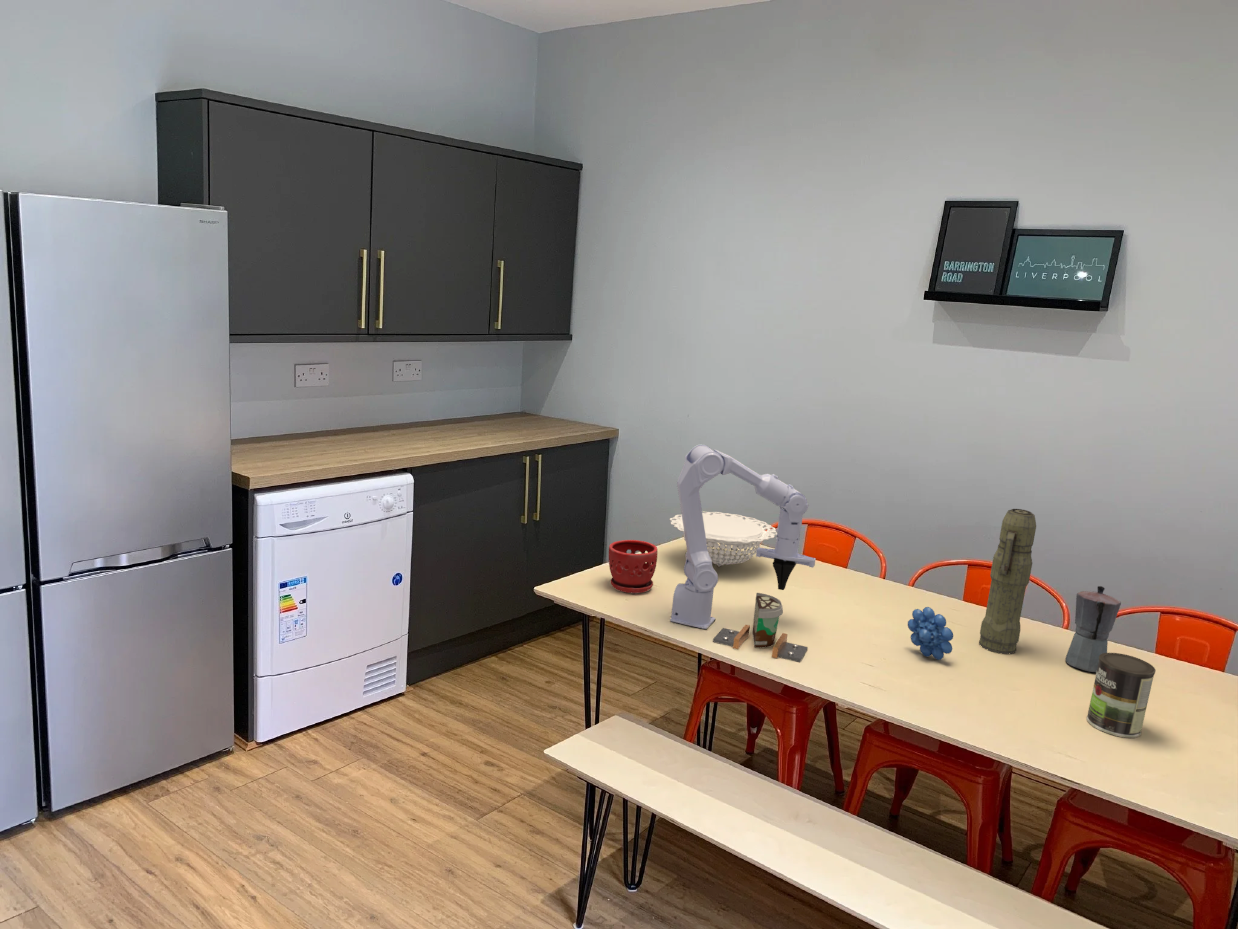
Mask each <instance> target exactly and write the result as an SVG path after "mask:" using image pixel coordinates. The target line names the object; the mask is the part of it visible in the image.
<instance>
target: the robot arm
mask: <svg viewBox="0 0 1238 929" xmlns="http://www.w3.org/2000/svg"><path fill="white" fill-rule="evenodd" d="M730 474H732V475H734V476H735V477H737V478H739V479H741V480H742V481H744V482H746V483H748V484H750V485H752V486H754V487H753V488H754V490H755V494H757V495H758V496H760V497H761V498H763V499H765V500H767V501H769V502H770V503H772V504H774V505H775V506H777V507H779V514H778V515H779V516H778V524H777V529H776V530H777V531H776V532H777V535H776V537H775V547H774V548H765V547H761V546H760V547H759V548H758V549H757V552H756V554H755V557H756V558H757V557H758V558H761V557H762V558H768V559H771V560H773V562H772V567H773V570H774V572H775V575H776V580H777V581H776V582H777V589H778V590H780V591H784V590H785V589H786V586H787V583H788V580H789V578H790V575H791V573H792V572H793V571H794V569H795V567H796V566H797V565H802V566H807V567H809V568H812V569H813V568H814V567H815V566H816V561H817V560H816V558H815V557H811V556H807V555H805V554H801V553H799V547H800V540H801V533H802V532H801V531H802V524H803V515H804V514H805V513H806V512H808V509H809V506H810V505H809V504H808V499H807V497H806V496H805V495H804V494H803V493H801V491H798V490H797V489H795V488H794V486H793V485H792V484H790V483H789V484H787V483H785V482H783V481H781V480H780V479H779V476H778V475H776V474H774V473H772V474H770V473H764V474H759V472H756V471H754V470H753V469H751V468H749V467H748V466H747V465H744V464H743V463H742V462H740V461H739V460H738V459H736V458H734V457H732V456H731V455H729V454H727V453H724V452H722V451H720V450H718V449H715V448H713V449H712V448H711V447H710V446H708V445H706V444H701V443H700V444H697V445H695V446H693V447H692V448H691V449H690V450H689V451H688V452H687V453H686V454H685V456H684V462H683V466H682V468H681V470H680V473H679V475H678V478H677V481H676V485H677V486H676V487H677V494H678V499H679V506H680V513H681V514H682V520H683V527H684V532H683V534H684V533H685V540H686V541H685V540H684V541H685V546H686V553H685V562H684V566H683V572H684V575H685V576H686V580H685V583H677V584H676V586H675V588H674V592H673V596H672V605H671V606H672V607H671V616H670V618H669V621H670V622H672V623H676V624H681V625H686V626H690V627H695V628H699V629H703V630H707V629H708V628H709V627H710V626H711V625H712V624H713V623H714V622H715V621H716V617H713V616H712V608H713V607H712V606H713V599H714V591H715V588H716V586H717V584H718V581H719V575H718V573H717V571H716V570H715V568H714V567H713V563H712V561H711V558H710V556H709V552H708V547H707V542H706V535H705V529H704V522H703V515H702V513H703V512H702V511H703V509H702V503H701V502H702V501H701V495H700V490H701V488H702V487H703V486H704V485H705V484H706V483H708V482H709V481H712V480H713V479H715V477H717V476H719V475H722V476H727V475H730ZM681 514H680V515H681Z"/></svg>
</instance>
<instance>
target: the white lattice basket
mask: <svg viewBox="0 0 1238 929" xmlns="http://www.w3.org/2000/svg"><path fill="white" fill-rule="evenodd" d="M702 515H703V522H704V529H705V535H706V542H707V549H708V553H709V556H710V558H711V561H712V564H713V565H717V566H718V567H721V566H724V565H727V566H728V565H735V564H736V565H737V564H742V563H745V562H747V561H749V560H750V559H753V557H754V555H756V552H757V549H758V548H759V547H760V548H761V543H762V542H763V541H769V539H774V538H776V537H775V536H777V531H776V530H777V529H776V528H775V527H773V526H772V525H771V524H769V523H767V522H765V521H763V520H759V519H757V518H754V517H749V516H744V515H742V514H736V513H735V514H734V513H730V512H729V513H728V512H727V513H725V512H721V511H704V510H702ZM669 521H670V525H671V526H672V525H673V528H675V529H677V531H680V532H682V533H683V538H684V539H683V540H684V541H685V542H686V540H685V533H684V527H683V520H682V514H676V515H674V516H673V517H670V518H669ZM718 548H719V549H718ZM751 548H752V549H751Z"/></svg>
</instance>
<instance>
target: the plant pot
mask: <svg viewBox="0 0 1238 929" xmlns="http://www.w3.org/2000/svg"><path fill="white" fill-rule="evenodd" d="M628 550H629V551H630V553H628V552H627V551H628ZM637 551H638V552H640V553H636V552H637ZM658 554H659V552H658V548H657V546H656V545H655V544H654V543H651V542H648V541H645V540H636V539H623V540H617V541H613V542H612V543H610V544H609V545H608V564H609V565H608V567H609V571H610V575H611V579H610V584H611V586H612V587H613V588H614V589H615V590H617V591H619V592H622V593H626V594H627V593H628V594H633V595H636V594H642V593H646V592H648V591H650V590H651V589H652V588H653V586H654V581H653V580H652V578H653V577H654V574H655V571H656V569H657V563H658Z"/></svg>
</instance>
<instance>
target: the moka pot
mask: <svg viewBox="0 0 1238 929" xmlns="http://www.w3.org/2000/svg"><path fill="white" fill-rule="evenodd" d="M1105 589H1106V588H1105V587H1104V586H1101V585H1100V586H1099V585H1098V586H1097V591H1087V590H1086V591H1084V590H1082V591H1080V592H1077V593H1076V598H1075V600H1076V601H1075V617H1074V618H1075V619H1074V624H1075V625H1076V626H1075V630H1074V631H1075V632H1074V634H1073V637H1072V640H1071V642H1070V645H1069V647H1068V649H1067V653H1066V656H1065V659H1064V660H1065V662H1066V664H1067V665H1069V666H1071V667H1073V668H1076V669H1079V670H1081V671H1085V672H1089V673H1096V672H1097V668H1098V663H1099V655H1101V654H1103V653H1108V642H1109V641H1108V638H1109V635H1110V632H1112V630H1113V628H1114V625H1115V622H1116V620H1117V616H1118V614H1119V611H1120V608H1121V605H1122V602H1121V601H1120V600H1118V599H1117V598H1115V597H1113V596H1111V595H1108V594H1105V593H1104V591H1105Z"/></svg>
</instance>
